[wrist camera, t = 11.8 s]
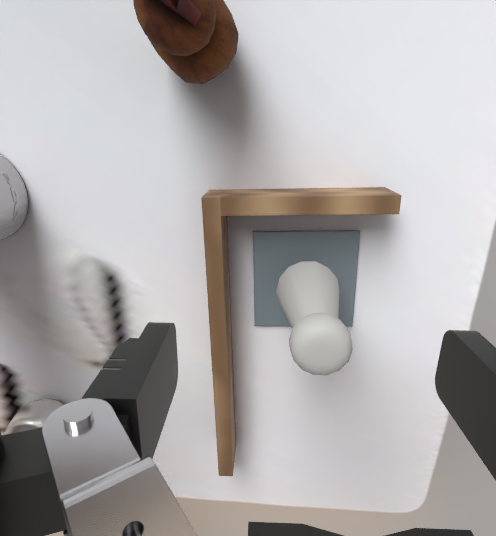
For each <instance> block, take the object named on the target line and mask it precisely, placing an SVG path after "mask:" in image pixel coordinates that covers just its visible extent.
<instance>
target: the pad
mask: <svg viewBox="0 0 496 536" xmlns="http://www.w3.org/2000/svg"><path fill="white" fill-rule="evenodd" d="M359 236H360V231H253V249H254V307H255V326H291V324H290V323H289V321H288V319H287V317H286V315H285V313H284V312H283V310H282V308H281V306H280V304H279V301H278V297H277V293H276V290H277V286H278V282H279V278H280V276H281V275H282V274H283V273H284V272H285V270H286V269H287V268H288V267H289V266H292V265H294V264H296V263H299V262H301V261H316V262H318V263H320V264H322V265H324V266H326V267H328V268H329V269H330V270H331V271H332V273H333V274H334V275H335V276H336V277H337V278H338V285H339V291H340V293H339V314H338V319H340V320H341V321H342V323H343V324H344V325H345V326H352V323H353V311H354V298H355V286H356V273H357V261H358V248H359Z"/></svg>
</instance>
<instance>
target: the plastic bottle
mask: <svg viewBox="0 0 496 536" xmlns="http://www.w3.org/2000/svg"><path fill="white" fill-rule="evenodd" d="M63 405H64V404H63V403H61V402H59V401H56V400H53V399H41V400H36V401H33V402H30V403H29V404H28V405H26V406H25V407H24V408H22V409H21V410H20V411H18V412H17V414H16V415H15V416H14V418H13V419H12V421H11V422H10V423H9V425H8V427H7V429H6V431H5V433H4V434H3V435H6V434H11V433H16V432H21V431H27V430H32V429H36V428H40V427H43V424H44V422H45V420H46V419H47V417H48V416H49V415H50V414H51V413H52V412H54V411H55V410H56V409H58V408H59V407H61V406H63Z"/></svg>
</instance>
